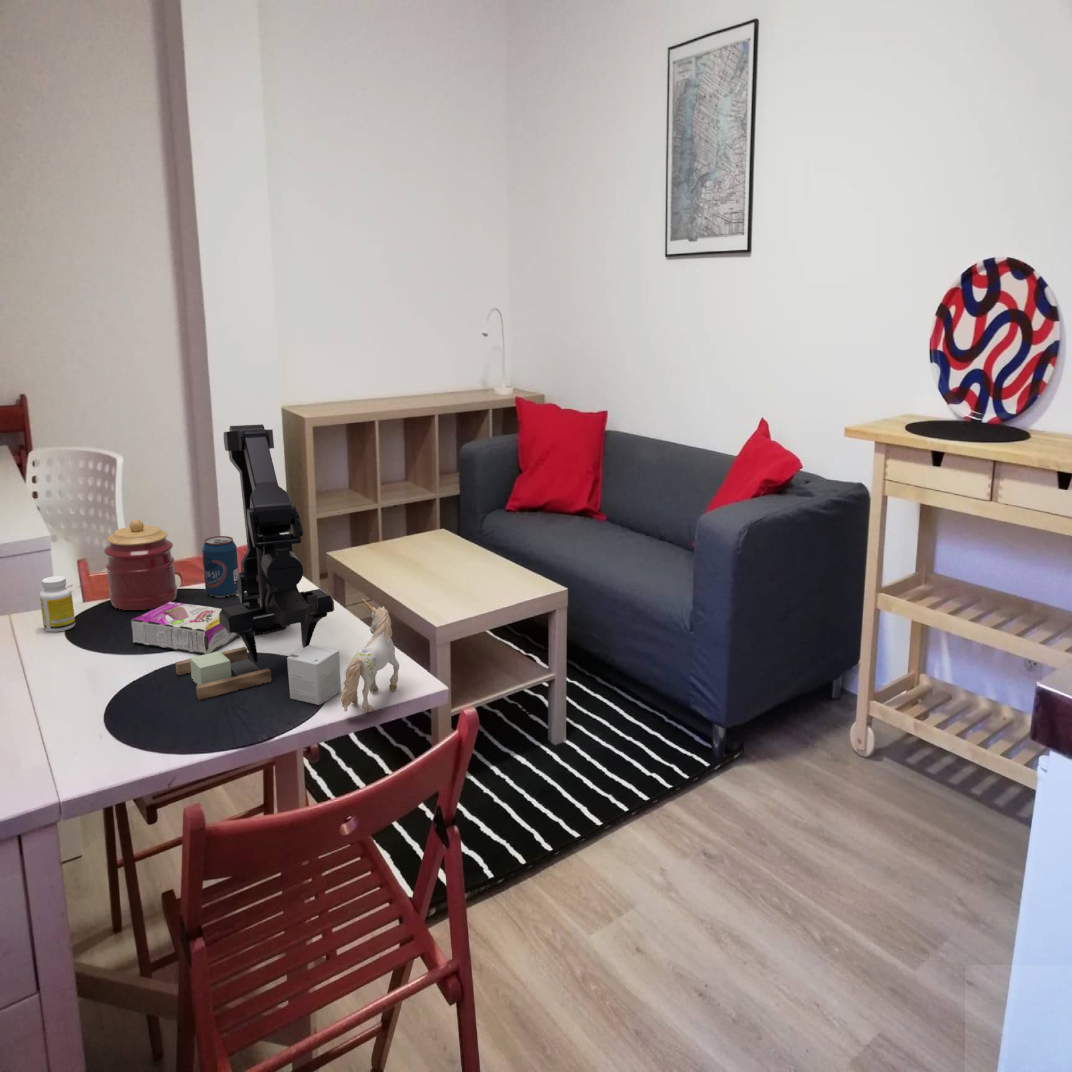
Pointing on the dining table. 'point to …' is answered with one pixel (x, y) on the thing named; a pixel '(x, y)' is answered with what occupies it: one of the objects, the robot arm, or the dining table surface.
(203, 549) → the soda can
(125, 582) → the canister
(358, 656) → the unicorn figurine
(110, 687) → the dining table surface
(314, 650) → the skincare box
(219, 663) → the sage block
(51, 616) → the supplement bottle
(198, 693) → the channel
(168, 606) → the candy bar box
